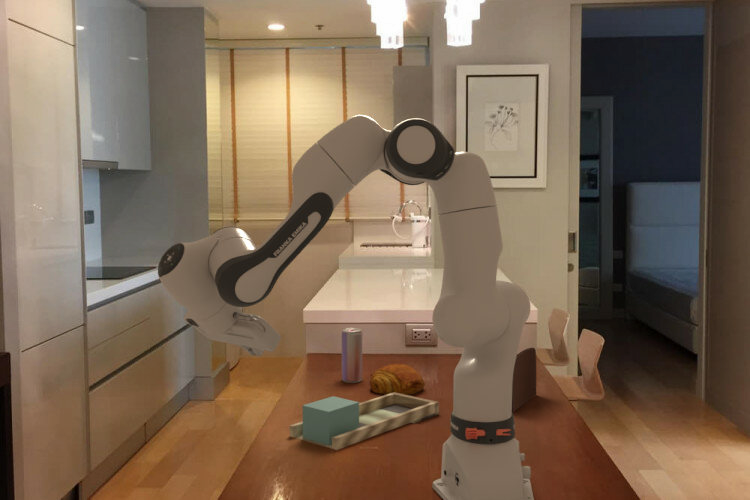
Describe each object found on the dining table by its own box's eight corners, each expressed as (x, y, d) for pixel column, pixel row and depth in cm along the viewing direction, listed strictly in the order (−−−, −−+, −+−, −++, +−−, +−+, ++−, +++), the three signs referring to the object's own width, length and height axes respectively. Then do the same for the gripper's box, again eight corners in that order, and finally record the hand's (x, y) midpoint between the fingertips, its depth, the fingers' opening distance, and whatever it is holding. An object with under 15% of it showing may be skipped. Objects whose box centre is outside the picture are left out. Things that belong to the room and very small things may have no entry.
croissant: (361, 396, 230) (358, 369, 229) (404, 380, 239) (401, 354, 238) (393, 406, 219) (390, 377, 218) (437, 389, 228) (434, 361, 227)
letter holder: (536, 395, 223) (537, 344, 222) (513, 414, 206) (513, 358, 205) (501, 391, 228) (502, 340, 227) (475, 408, 211) (476, 354, 209)
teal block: (328, 445, 179) (328, 411, 179) (302, 438, 184) (302, 405, 184) (359, 434, 187) (359, 402, 186) (333, 427, 192) (333, 396, 191)
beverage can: (338, 381, 237) (337, 330, 236) (348, 377, 243) (348, 327, 241) (356, 384, 235) (355, 332, 233) (366, 379, 240) (365, 328, 239)
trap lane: (336, 452, 177) (336, 438, 176) (289, 438, 186) (289, 425, 185) (438, 414, 205) (438, 401, 205) (393, 403, 214) (393, 392, 214)
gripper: (263, 303, 154) (301, 347, 162) (195, 293, 167) (233, 334, 175) (245, 330, 151) (285, 373, 159) (177, 318, 164) (217, 358, 172)
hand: (257, 352), depth 167 cm, fingers closed
